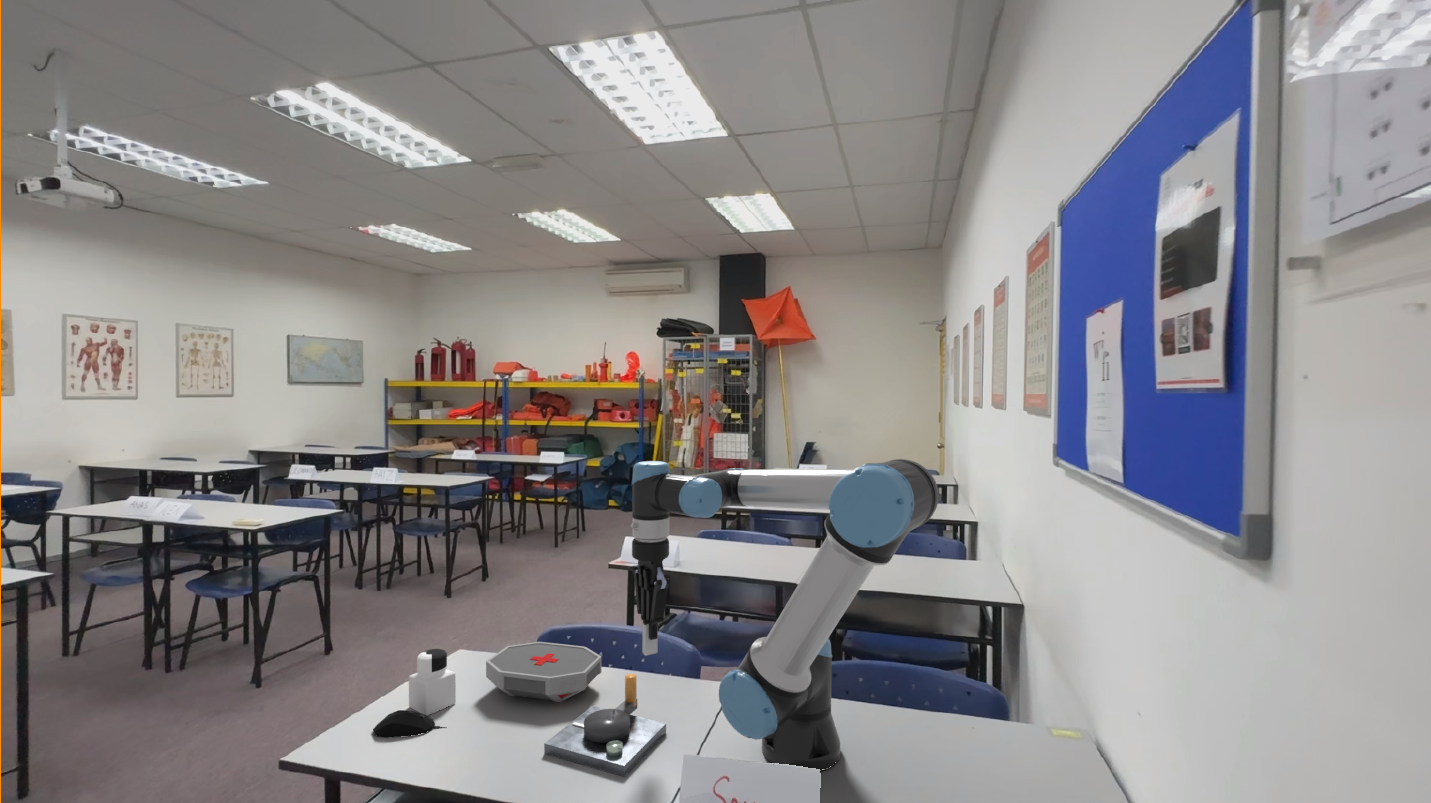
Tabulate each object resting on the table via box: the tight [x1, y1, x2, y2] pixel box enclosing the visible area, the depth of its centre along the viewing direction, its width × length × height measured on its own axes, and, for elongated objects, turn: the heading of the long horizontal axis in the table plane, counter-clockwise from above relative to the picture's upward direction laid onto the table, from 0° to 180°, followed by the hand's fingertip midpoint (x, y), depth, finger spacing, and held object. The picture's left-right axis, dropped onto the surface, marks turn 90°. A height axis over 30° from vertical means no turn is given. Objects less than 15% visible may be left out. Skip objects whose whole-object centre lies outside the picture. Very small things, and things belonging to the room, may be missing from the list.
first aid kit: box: [485, 641, 602, 703], centre depth 147 cm, size 18×8×25 cm
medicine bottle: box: [408, 648, 457, 716], centre depth 140 cm, size 7×7×12 cm
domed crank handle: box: [584, 673, 638, 743], centre depth 128 cm, size 15×9×7 cm, turn 156°
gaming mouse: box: [372, 709, 448, 739], centre depth 130 cm, size 6×15×4 cm, turn 94°
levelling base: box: [543, 705, 667, 778], centre depth 125 cm, size 18×16×3 cm
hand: (650, 652), depth 128 cm, fingers closed
